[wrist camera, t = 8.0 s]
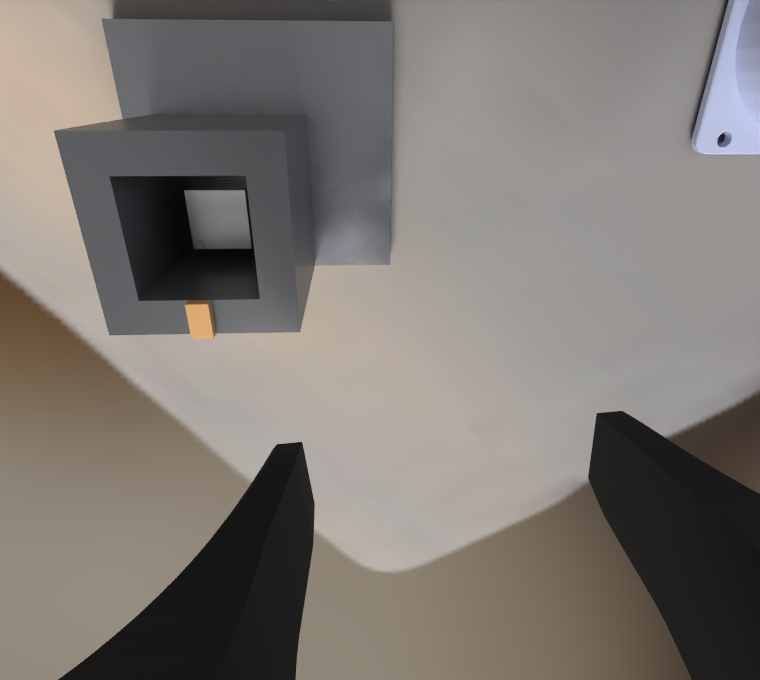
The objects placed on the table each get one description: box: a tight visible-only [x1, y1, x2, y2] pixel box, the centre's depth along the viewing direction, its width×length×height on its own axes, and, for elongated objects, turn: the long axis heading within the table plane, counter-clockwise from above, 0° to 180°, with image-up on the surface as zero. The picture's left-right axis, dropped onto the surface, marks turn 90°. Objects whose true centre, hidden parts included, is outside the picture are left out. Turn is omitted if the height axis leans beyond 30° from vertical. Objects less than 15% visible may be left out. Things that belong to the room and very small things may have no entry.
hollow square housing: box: [54, 115, 315, 339], centre depth 15 cm, size 5×5×6 cm
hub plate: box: [102, 19, 394, 265], centre depth 18 cm, size 9×8×1 cm
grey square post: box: [184, 176, 254, 249], centre depth 17 cm, size 2×2×4 cm
